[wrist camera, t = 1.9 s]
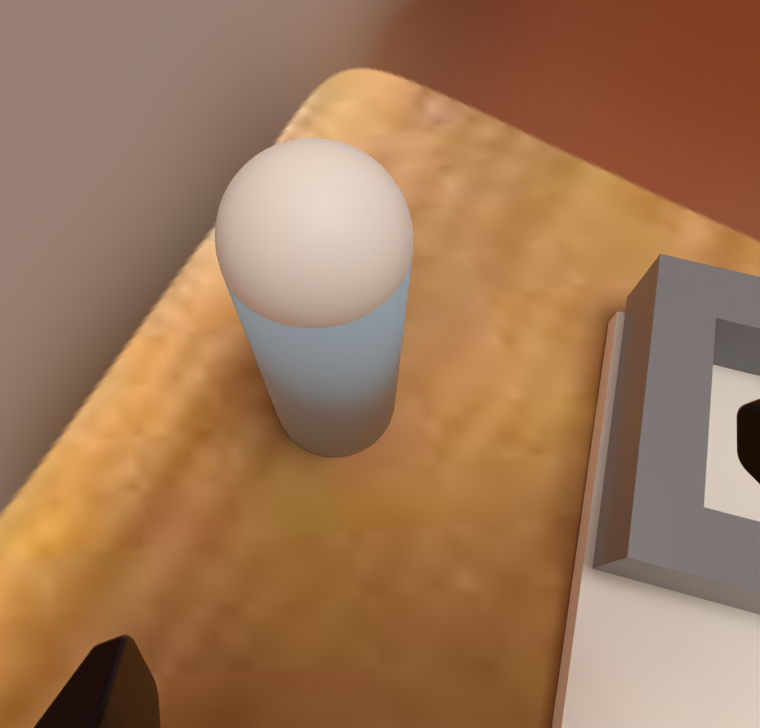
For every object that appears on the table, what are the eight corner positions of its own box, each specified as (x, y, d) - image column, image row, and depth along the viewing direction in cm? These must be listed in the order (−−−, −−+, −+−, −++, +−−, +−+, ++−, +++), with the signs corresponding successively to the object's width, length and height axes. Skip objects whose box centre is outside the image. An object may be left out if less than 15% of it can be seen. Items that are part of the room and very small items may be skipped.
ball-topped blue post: (376, 470, 23) (388, 298, 11) (260, 439, 23) (156, 241, 12) (407, 362, 24) (443, 116, 13) (297, 334, 25) (239, 72, 13)
